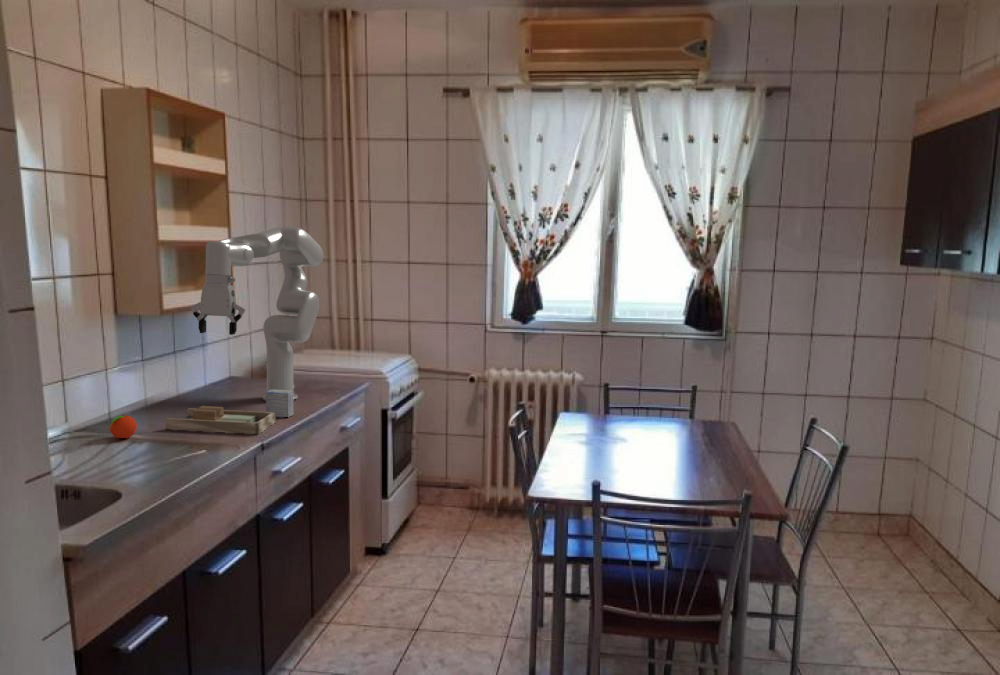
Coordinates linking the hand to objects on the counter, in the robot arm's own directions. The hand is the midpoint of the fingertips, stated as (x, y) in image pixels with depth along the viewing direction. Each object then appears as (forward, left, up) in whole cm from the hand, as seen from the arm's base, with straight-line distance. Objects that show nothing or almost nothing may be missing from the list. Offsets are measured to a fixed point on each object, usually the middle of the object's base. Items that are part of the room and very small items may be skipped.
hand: (217, 333), depth 217 cm
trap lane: (+7, +5, -29) cm, 30 cm away
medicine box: (-9, +17, -29) cm, 35 cm away
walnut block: (+7, 0, -26) cm, 27 cm away
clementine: (+25, -17, -29) cm, 42 cm away
